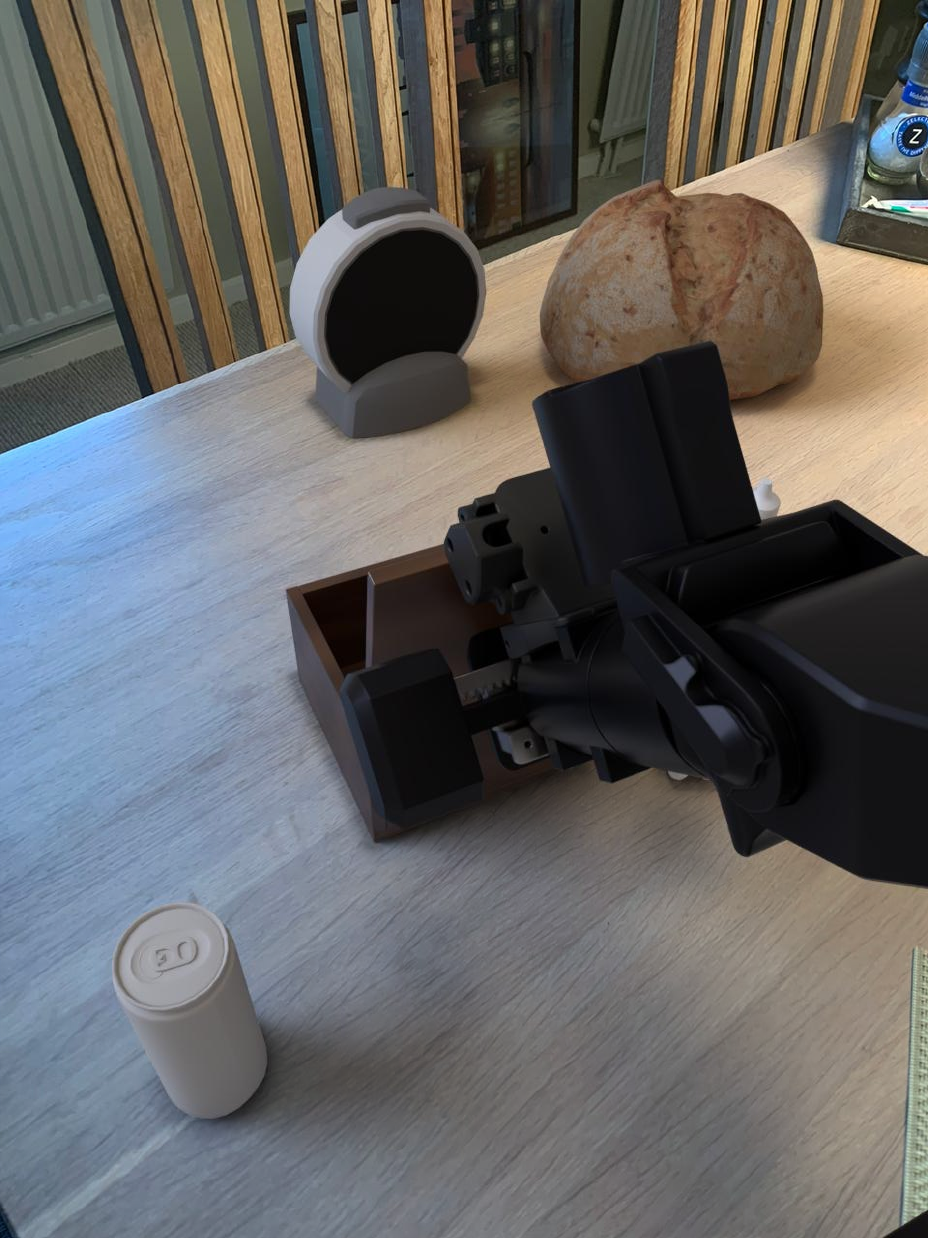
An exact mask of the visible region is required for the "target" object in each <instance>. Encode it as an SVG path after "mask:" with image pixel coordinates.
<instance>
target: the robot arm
mask: <svg viewBox="0 0 928 1238" xmlns="http://www.w3.org/2000/svg"><path fill="white" fill-rule="evenodd" d="M531 405H532V409H533V413H534V416H535V420H536V423H537V426H538V430H539V433H540V437H541V440H542V444H543V447H544V451H545V454H546V457H547V461H548V464H549V467H547V468H542V469H540V470H536V471H533V472H532V471H531V472H529V473H525V474H522V475H521V474H520V475H518V476H513V477H511V478H507V479H505V480H503V481H502V482H501V483H500V484H499V485H498V486H497V487H496V489H495V491H494V492H493V493H490V494H489V493H488V494H485V495H482V496H478V497H475V498H474V499H473V502H472V503H470V504H466V505H462V506H459V507H458V508H457V519H458V521H459V522H457V523H454V524H451V525H450V526H449V528H448V530H447V532H446V535H445V537H444V539H443V544H444V549H445V554H446V557H447V559H448V562H449V564H450V567H451V569H452V571H453V574H454V576H455V578H456V581H457V583H458V585H459V588H460V590H461V592H462V595H463V597H464V599H465V600H466V601H467V602H468V603H470V604H472V605H476V604H479V603H482V602H485V601H489V602H492V603H493V604H495V606H496V608H497V610H498V611H499V613H500V614H501V615H504V614H507V613H510V612H511V614H512V617H513V621H514V622H511V623H508V624H505V625H502V626H499V627H496V628H492V629H489V630H486V631H483V632H480V633H477V634H475V635H473V636H472V637H471V638H470V640H469V641H468V644H467V650H466V659H467V664H468V667H469V671H470V672H468V673H465V674H462V675H459V676H456V677H453V673H452V671H451V669H450V667H449V666H448V664H447V662H446V661H445V659H444V657H443V656H442V654H441V652H440V651H439V649H438V648H437V649H428V650H424V651H420V652H416V653H412V654H408V655H405V656H402V657H399V658H396V659H392V660H389V661H386V662H383V663H380V664H377V665H374V666H371V667H368V668H365V669H362V670H358V671H355V672H352V673H349V674H347V676H346V678H345V680H344V682H343V684H342V686H341V688H340V690H339V695H340V699H341V702H342V705H343V709H344V712H345V715H346V718H347V722H348V725H349V728H350V731H351V735H352V738H353V741H354V744H355V748H356V751H357V754H358V757H359V761H360V764H361V767H362V771H363V774H364V777H365V780H366V784H367V787H368V790H369V793H370V797H371V800H372V803H373V806H374V810H375V813H376V814H377V815H379V816H380V817H382V818H383V819H385V820H387V821H389V822H391V823H393V824H395V825H397V826H399V827H401V828H403V829H407V828H409V827H412V826H415V825H417V824H420V823H422V822H425V821H428V820H430V819H433V818H435V817H438V816H441V815H443V814H446V813H449V812H451V811H454V810H456V809H459V808H462V807H464V806H467V805H469V804H472V803H475V802H477V801H480V800H483V795H484V777H483V774H482V770H481V767H480V763H479V760H478V757H477V753H476V750H475V747H474V743H473V740H472V737H471V735H474V734H477V733H480V732H482V731H485V730H487V731H488V734H489V738H490V741H491V744H492V748H493V751H494V754H495V758H496V760H497V762H498V763H499V764H500V765H501V766H502V767H503V768H505V769H507V770H511V771H516V770H519V769H522V768H525V767H527V766H530V765H532V764H535V763H538V762H540V761H543V760H546V759H548V758H551V761H552V765H553V768H554V769H558V770H562V771H561V772H565V771H569V770H570V769H573V768H576V767H578V766H580V765H584V764H587V763H589V762H591V761H593V763H594V767H595V770H596V774H597V777H598V781H601V782H604V783H609V784H615V783H617V782H620V781H622V780H625V779H627V778H630V777H632V776H635V775H638V774H640V773H643V772H645V771H647V770H650V769H655V770H661V771H666V772H668V771H670V772H675V773H680V774H684V775H688V776H690V777H695V778H700V779H702V778H704V779H703V780H705V779H708V780H707V781H710V782H711V783H712V785H713V786H714V787H715V791H716V792H717V795H718V799H719V802H720V805H721V809H722V812H723V815H724V820H725V823H726V827H727V830H728V834H729V836H730V841H731V844H732V846H733V849H734V851H735V852H736V853H737V854H738V855H740V856H741V857H743V858H749V857H752V856H754V855H756V854H759V853H761V852H763V851H765V850H768V849H770V848H772V847H775V846H777V845H779V844H781V843H784V842H786V841H788V842H790V843H792V844H794V845H795V846H798V847H800V848H801V849H803V850H806V851H807V852H809V853H811V854H813V855H815V856H817V857H819V858H821V859H822V860H825V861H826V862H828V863H830V864H832V865H834V866H836V867H837V868H840V869H842V870H843V871H846V872H848V873H850V874H852V875H853V876H856V877H857V878H860V879H863V880H866V881H869V882H876V883H882V884H890V885H896V886H905V887H912V888H918V889H926V890H928V555H924V554H923V553H921V552H920V551H918V550H917V549H915V548H913V547H912V546H911V545H908V544H907V543H906V542H905V541H903V540H901V539H899V538H898V537H897V536H895V535H894V534H892V533H891V532H889V531H888V530H886V529H884V528H883V527H881V526H880V525H878V524H877V523H875V522H874V521H872V520H871V519H870V518H868V517H866V516H865V515H863V514H862V513H860V512H859V511H857V510H855V509H854V508H853V507H851V506H850V505H848V504H846V503H845V502H844V501H842V500H840V499H832V500H828V501H826V502H823V503H819V504H816V505H813V506H810V507H807V508H804V509H801V510H797V511H794V512H790V513H786V514H785V513H784V514H782V515H777V516H776V517H772V518H767V519H761V518H760V514H759V510H758V507H757V503H756V500H755V496H754V492H753V489H752V488H753V486H752V482H751V479H750V473H749V471H748V467H747V464H746V460H745V457H744V454H743V450H742V446H741V442H740V439H739V436H738V431H737V428H736V425H735V420H734V416H733V412H732V407H731V400H730V398H729V390H728V384H727V380H726V376H725V372H724V368H723V365H722V361H721V358H720V354H719V350H718V347H717V345H716V344H715V343H714V342H712V341H706V342H702V343H698V344H694V345H690V346H686V347H681V348H677V349H673V350H669V351H665V352H661V353H657V354H654V355H653V356H651V357H649V358H647V359H646V360H644V361H642V362H641V363H639V364H636V365H632V366H629V367H626V368H623V369H620V370H617V371H614V372H611V373H608V374H605V375H602V376H600V377H597V378H594V379H591V380H587V381H583V382H578V383H576V382H575V383H571V384H570V383H569V384H567V385H562V386H559V387H555V388H552V389H551V388H550V389H549V390H547V391H544V392H543V393H542V394H540V395H538V396H536V397H535V398H534V399H533V400H532V401H531ZM467 693H468V694H469V696H470V697H471V698H475V697H476V694H477V697H478V701H475V702H473V703H470V704H467V705H464V706H462V703H461V700H462V701H466V700H467ZM460 699H461V700H460ZM882 1238H928V1209H926V1210H925V1211H923V1212H922V1213H919V1214H918V1215H917V1216H915V1217H913V1218H911V1219H910V1220H908V1221H907V1222H905V1223H903V1224H902V1225H901V1226H899V1227H897V1228H896V1229H894V1230H892V1231H891V1232H889V1233H887V1234H886V1235H884V1236H882Z"/></svg>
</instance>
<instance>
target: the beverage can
mask: <svg viewBox="0 0 928 1238" xmlns="http://www.w3.org/2000/svg"><path fill="white" fill-rule="evenodd" d="M111 961H112V962H111V974H112V984H113V987H114V990H115V994H116V998H117V999H118V1001H119V1003H120V1005H121V1007H122V1009H123V1011H124V1012H125V1014H126V1017H127V1018H128V1020H129V1022H130V1024H131V1026H132V1028H133V1030H134V1033H135V1034H136V1036H137V1038H138V1039H139V1042H140V1043H141V1045H142V1047H143V1049H144V1051H145V1053H146V1055H147V1057H148V1059H149V1061H150V1063H151V1064H152V1067H153V1068H154V1071H155V1072H156V1074H157V1076H158V1078H159V1080H160V1081H161V1084H162V1086H163V1088H164V1089H165V1091H166V1093H167V1095H168V1097H169V1098H170V1100H171V1101H172V1102H173V1104H174V1105H175V1107H177V1109H178V1110H180V1111H182V1112H183V1113H184V1114H185V1115H188V1116H191V1117H193V1118H197V1119H207V1120H213V1119H218V1118H222V1117H225V1116H227V1115H228V1116H229V1114H231V1113H233V1112H235V1111H236V1110H238V1109H240V1108H241V1107H242V1106H243V1105H244V1104H245V1103H246V1102H248V1100H250V1099H251V1097H252V1096H253V1095H254V1094H255V1092H256V1091H257V1089H259V1087H260V1086H261V1083H262V1081H263V1079H264V1077H265V1075H266V1072H267V1065H268V1053H267V1052H268V1051H267V1046H266V1043H265V1038H264V1036H263V1032H262V1030H261V1026H260V1022H259V1019H258V1017H257V1013H256V1010H255V1006H254V1003H253V1000H252V997H251V993H250V990H249V987H248V982H247V980H246V977H245V974H244V971H243V967H242V964H241V960H240V957H239V954H238V951H237V947H236V944H235V941H234V939H233V936H232V934H231V932H230V930H229V928H228V927H227V926H226V925H225V924H224V922H223V921H222V919H220V918H219V916H218V915H217V914H216V913H215V912H214V911H212V910H211V909H209V908H208V907H206V906H204V905H200V904H198V903H195V902H194V903H193V902H188V901H187V902H185V901H175V902H171V903H165V904H161V905H159V906H157V907H154V908H152V909H149V910H148V911H146V912H144V913H143V914H141V915H140V916H138V918H136V919H134V920H133V922H132V923H130V925H128V927H127V928H126V929H125V930H124V931H123V932H122V935H121V936H120V938H119V940H118V942H117V943H116V946H115V948H114V951H113V955H112V959H111Z"/></svg>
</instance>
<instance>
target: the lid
mask: <svg viewBox="0 0 928 1238" xmlns="http://www.w3.org/2000/svg"><path fill="white" fill-rule="evenodd" d="M511 622H514V621H513V617H512V614H511V612H510V613H507V614H504V615H501V614H500V613H499V611H498V610H497V608H496V606H495V604H493V603H492V602H489V601H485V602H482V603H479V604H476V605H472V604H470V603H468V602H467V601H466V600H465V599H464V597H463V595H462V592H461V590H460V588H459V585H458V583H457V581H456V578H455V576H454V574H453V571H452V569H451V567H450V564H449V562H448V559H447V557H446V554H445V549H443V550H440V551H436V552H433V553H429V554H426V555H422V556H419V557H416V558H412V559H409V560H405V561H402V562H398V563H395V564H391V565H388V566H385V567H381V568H378V569H374V570H371V571H368V583H367V631H366V668H368V667H371V666H374V665H377V664H380V663H383V662H386V661H389V660H392V659H396V658H399V657H402V656H405V655H408V654H412V653H416V652H420V651H424V650H428V649H437V648H438V649H439V651H440V652H441V654H442V656H443V657H444V659H445V661H446V662H447V664H448V666H449V667H450V669H451V671H452V673H453V677H456V676H459V675H462V674H465V673H468V672H470V671H469V667H468V664H467V659H466V650H467V644H468V641H469V640H470V638H471V637H472V636H473V635H475V634H477V633H480V632H483V631H486V630H489V629H492V628H496V627H499V626H502V625H505V624H508V623H511ZM460 700H461V699H460ZM475 701H478V697H477V694H476V697H475V698H471V697H470V696H469V694H468V693H467V700H466V701H462V700H461V703H462V706H464V705H467V704H470V703H473V702H475Z"/></svg>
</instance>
